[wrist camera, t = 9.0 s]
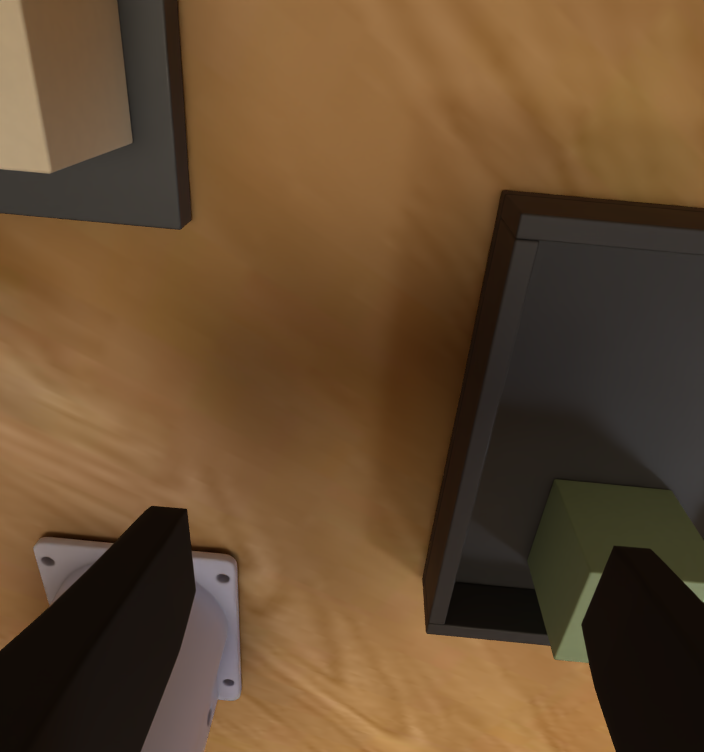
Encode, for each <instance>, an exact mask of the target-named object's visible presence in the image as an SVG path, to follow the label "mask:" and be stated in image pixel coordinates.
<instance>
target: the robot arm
mask: <svg viewBox="0 0 704 752" xmlns="http://www.w3.org/2000/svg"><path fill="white" fill-rule="evenodd" d="M33 550H34V554H35V557H36V561H37V564H38V568H39V571H40V575H41V578H42V581H43V585H44V588H45V592H46V595H47V599H48V602H49V605H50V606H49V607H48V608H47V609H46V610H45V611H44V612H43V613H42V614H41V615H40V616H39V617H38V618H37V619H36V620H34V621H33V622H32V623H31V624H30V625H29V626H28V627H27V628H25V629H24V630H23V631H22V632H21V633H20V634H19V635H18V636H16V637H15V638H14V639H13V640H12V641H11V642H10V643H9V644H7V645H6V646H5V647H4V648H3V649H2V650H1V651H0V752H204V750H205V746H206V742H207V738H208V735H209V731H210V727H211V723H212V719H213V715H214V711H215V708H216V704H217V700H228V701H234V700H237V699H238V698H239V697H240V694H241V689H242V686H241V658H240V630H239V602H238V573H237V562H236V560H235V559H234V558H233V557H232V556H230V555H227V554H220V553H210V552H200V551H192V550H191V541H190V532H189V523H188V514H187V509H182V508H170V507H159V506H151V507H149V508H148V509H147V510H145V512H144V513H143V514H142V515H141V516H140V517H139V518H138V519H137V520H136V521H135V522H134V523H133V524H132V525H131V526H130V527H129V528H128V529H127V530H126V531H125V532H124V533H123V534H122V535H121V536H120V537H119V538H118V539H117V540H116V542H115V543H107V542H97V541H86V540H76V539H66V538H55V537H42V538H40V539H39V540H38V541H37V543H36V544H35V546H34V547H33ZM224 574H225V575H224ZM581 626H582V631H583V636H584V641H585V646H586V651H587V656H588V661H589V665H590V670H591V674H592V678H593V683H594V687H595V690H596V693H597V697H598V700H599V703H600V706H601V709H602V712H603V715H604V718H605V721H606V724H607V727H608V730H609V733H610V736H611V739H612V742H613V744H614V747H615V750H616V752H704V603H703V602H702V601H701V600H700V599H699V598H698V597H697V596H696V594H695V593H694V592H693V591H692V590H691V589H690V588H689V587H688V586H687V585H686V584H685V583H684V582H683V581H682V580H681V579H680V578H679V577H678V576H677V575H676V574H675V573H674V572H673V571H672V570H671V569H670V568H669V567H668V565H667V564H666V563H665V562H664V561H663V560H662V559H661V558H660V557H659V556H658V555H657V554H656V553H655V552H654V551H652V550H651V549H649V548H637V547H626V546H613V549H612V551H611V554H610V556H609V558H608V561H607V563H606V566H605V568H604V570H603V573H602V575H601V578H600V580H599V583H598V585H597V587H596V590H595V592H594V595H593V597H592V599H591V602H590V604H589V607H588V609H587V611H586V614H585V616H584V619H583V621H582V624H581Z"/></svg>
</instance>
